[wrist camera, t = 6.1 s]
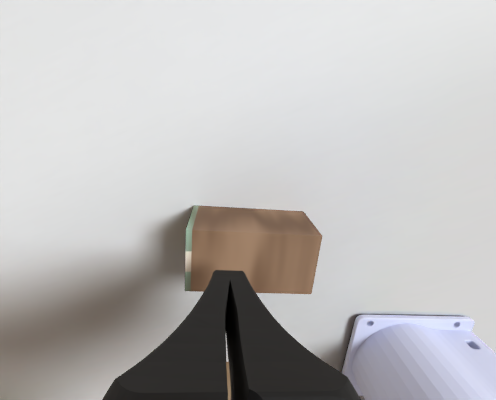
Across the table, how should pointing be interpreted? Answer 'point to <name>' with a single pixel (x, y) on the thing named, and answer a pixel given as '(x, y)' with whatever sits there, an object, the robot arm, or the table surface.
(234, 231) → the walnut block
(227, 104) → the table surface
